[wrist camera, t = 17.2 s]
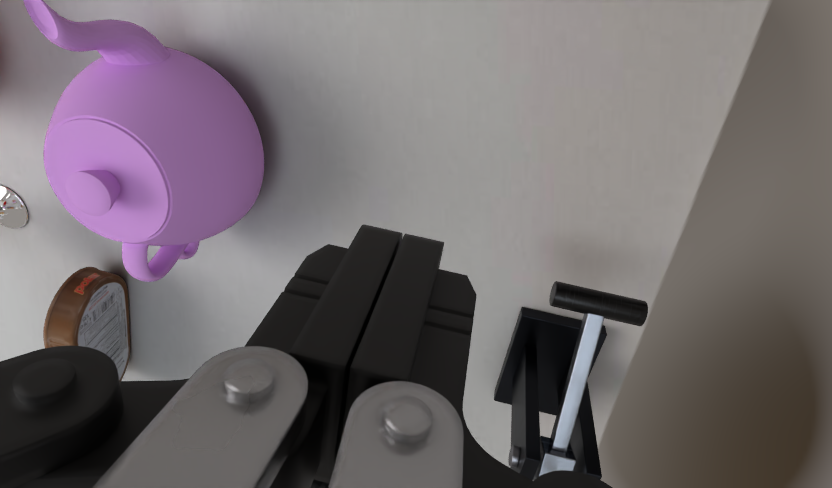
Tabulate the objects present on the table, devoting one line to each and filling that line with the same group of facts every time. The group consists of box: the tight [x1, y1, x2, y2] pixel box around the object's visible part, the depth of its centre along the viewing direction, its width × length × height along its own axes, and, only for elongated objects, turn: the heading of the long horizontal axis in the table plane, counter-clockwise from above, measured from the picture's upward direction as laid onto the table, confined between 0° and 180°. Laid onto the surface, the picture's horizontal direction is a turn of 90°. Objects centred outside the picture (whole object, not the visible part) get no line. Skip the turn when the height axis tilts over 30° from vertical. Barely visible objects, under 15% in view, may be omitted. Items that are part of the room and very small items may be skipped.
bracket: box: [494, 307, 607, 481], centre depth 41 cm, size 10×7×13 cm
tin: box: [43, 267, 130, 381], centre depth 50 cm, size 15×3×8 cm, turn 166°
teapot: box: [23, 0, 264, 282], centre depth 36 cm, size 20×14×12 cm
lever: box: [533, 281, 648, 481], centre depth 36 cm, size 14×6×2 cm, turn 171°
